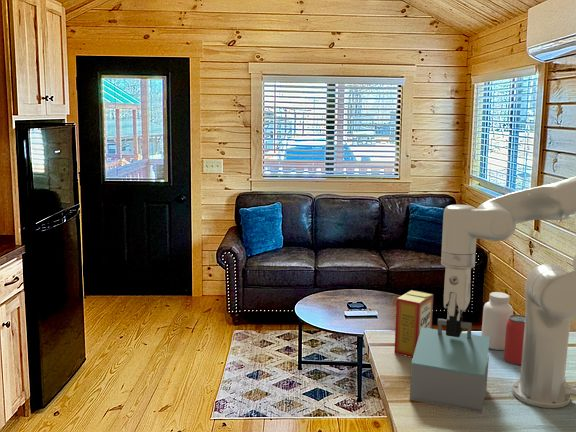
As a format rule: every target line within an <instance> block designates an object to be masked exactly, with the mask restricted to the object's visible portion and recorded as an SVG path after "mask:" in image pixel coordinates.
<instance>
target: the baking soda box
mask: <svg viewBox="0 0 576 432" xmlns="http://www.w3.org/2000/svg"><path fill="white" fill-rule="evenodd" d="M433 308H434V294H433V293H428V292H424V291H418V290H413V289H411V290H409V291H407V292H406V293H404V294H402V295H400V296H398V297H397V298H396V309H395V331H394V333H395V334H394V354H397V353H398V355H400V354H402V355H401V356H404V355H406V356H405V357H408V356H410V357H409V358H412V357H413V355H414V352H415V348H416V345H417V341H418V338H419V334H420V331H421V327H423V328H430V329H433V328H432V327H433V311H434V309H433Z"/></svg>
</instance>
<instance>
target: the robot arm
mask: <svg viewBox="0 0 576 432" xmlns="http://www.w3.org/2000/svg"><path fill="white" fill-rule="evenodd" d="M442 218H443V219H442V234H441V236H442V238H441V254H440V255H441V257H440V259H441V260H440V264H441V266H444V267H445V272H444V283H443V284H444V285H443V286H444V287H443V288H444V289H443V308H444V309H446V310H447V315H446V316H447V317H446V320H447V323H446V326H445V331H446V335H447V336H452V337H460V334H461V333H463V328H461V322H463V319H464V318H463V312H465V311H466V310H467V308H468V307H469V304H470V302H471V301H470V300H471V283H472V281H471V280H472V279H471V278H472V277H471V274H472V273H471V271H472V269H473V268H475V266H476V251H477V239H479V240H480V239H481V240H485V241H492V242H503V241H506V240H508V239H510V238H511V237H513V234H514V233H515V231H516V227H517V224H521V223H524V222H525V223H526V222H529V221H530V222H531V221H539V220H541V221H542V220H543V221H544V220H546V221H565V220H570V219H572V218H576V175H575V176H572V177H569V178H566V179H562V180H559V181H556V182H552V183H550V184H549V183H548V184H544V185H540V186H536V187H531V188H527V189H523V190H522V189H521V190H518V191H515V192H510V193H507V194H504V195H500V196H498V197H496V198H491V199H488V200H486V201H485V202H483V203H481V204H480V205H479V206H477V207H475V206H473V205H469V204H450V205H447V206H445V208H444V210H443V217H442ZM572 269H573V270H571V271H569V272H568V271H567V270H565V268H563V267H562V266H560V265H557V264H554V263H542V264H538V265H537V266H535V267H533V268H532V269H531V270H530V272H529V273H528V275H527V277H526V280H525V285H524V286H525V287H524V288H525V289H524V296H525V312H524V313H525V315H524V316H525V328H524V338H523V350H522V362H521V365H520V376H519V380H518V381H515V383H513V384H512V387H511V388H512V390H511V391H512V394H513V395H514V396H515V397H516V398H517V399H518V400H520V401H522V402H523V403H526V404H527V405H531V406H534V407H539V408H543V409H544V408H545V409H560V408H563V407H567V406H568V405H569V404H570V402H571V397H576V384H571V383H569V382H567V379H566V368H567V359H568V350H569V347H568V346H569V339H570V328H571V320H572V319H576V254H574V256H573V258H572Z"/></svg>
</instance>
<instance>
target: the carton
mask: <svg viewBox="0 0 576 432" xmlns="http://www.w3.org/2000/svg"><path fill="white" fill-rule="evenodd" d="M489 361H490V356H489V355H488V356H487V363H486V369H485V376H484V377H482V376H476V375H470V374H464V373H458V372H452V371H446V370H440V369H435V368H429V367H423V366H417V365H411V364H410V366H411V367H410V387H409V388H410V389H409V400H411V401H416V402H420V403H426V404H431V405H437V406H441V407H442V406H443V407H447V408H452V409H457V410H462V411H468V412H472V413H473V412H474V413H478V414H483V409H484V404H485V400H486V394H487V387H488V375H489Z"/></svg>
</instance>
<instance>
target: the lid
mask: <svg viewBox="0 0 576 432" xmlns="http://www.w3.org/2000/svg"><path fill="white" fill-rule="evenodd" d="M446 323H447V319H445V318H437V328H432V329H430V328H423V327H421V331H420V334H419V338H418V341H417V345H416V348H415V352H414V355H413V358H412V357H411V358H412V359H411V362H410V363H411V364H410V366H411V365H417V366H423V367H429V368H435V369H440V370H446V371H452V372H458V373H464V374H470V375H476V376H482V377H484V376H485V369H486V363H487V356H489V354H488V353H489V350H490V348H489V343H490V337H486V336H481V335H479V334H478V335H477V334H472V322H467V321H462V322H461V328H462V329H467V330H466V331H467V333H464V332H462V333H461V334H460V337H452V336H447V335H446V330H443V326H445V327H446Z"/></svg>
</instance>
